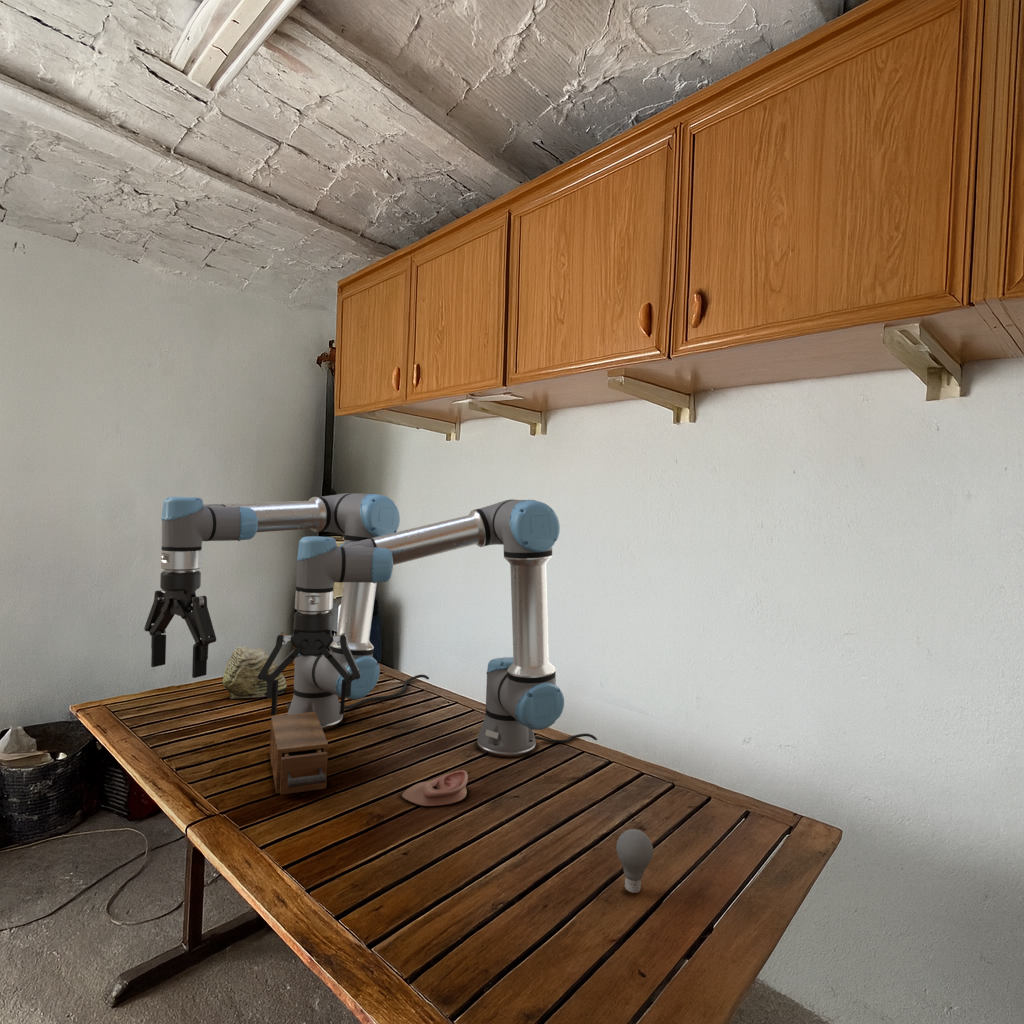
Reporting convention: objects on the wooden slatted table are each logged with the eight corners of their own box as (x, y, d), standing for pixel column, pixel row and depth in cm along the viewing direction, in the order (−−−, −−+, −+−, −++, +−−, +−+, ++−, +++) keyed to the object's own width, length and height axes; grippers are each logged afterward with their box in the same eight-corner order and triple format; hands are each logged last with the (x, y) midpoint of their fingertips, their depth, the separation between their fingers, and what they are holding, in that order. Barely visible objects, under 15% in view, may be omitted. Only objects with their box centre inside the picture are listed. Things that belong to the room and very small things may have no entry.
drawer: (329, 800, 131) (331, 763, 130) (282, 807, 127) (283, 769, 127) (313, 752, 154) (315, 721, 154) (273, 757, 150) (274, 725, 150)
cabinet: (326, 786, 139) (328, 743, 138) (276, 793, 134) (277, 749, 134) (314, 749, 158) (315, 711, 158) (269, 754, 154) (271, 715, 154)
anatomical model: (397, 783, 132) (416, 761, 144) (396, 802, 132) (415, 779, 144) (458, 792, 130) (472, 769, 141) (457, 811, 130) (471, 786, 141)
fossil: (218, 695, 195) (220, 647, 195) (278, 685, 208) (279, 640, 207) (228, 703, 189) (230, 653, 188) (289, 692, 201) (290, 645, 201)
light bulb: (610, 879, 108) (613, 822, 108) (644, 879, 109) (647, 822, 109) (619, 902, 102) (622, 840, 102) (655, 901, 103) (658, 840, 103)
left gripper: (127, 566, 135) (125, 665, 136) (203, 577, 124) (200, 685, 124) (161, 563, 142) (158, 657, 142) (236, 574, 130) (233, 676, 131)
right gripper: (246, 613, 125) (240, 720, 125) (375, 615, 131) (369, 717, 131) (253, 606, 132) (248, 707, 133) (374, 608, 138) (369, 705, 138)
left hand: (178, 671), depth 133 cm, fingers open, 13 cm apart
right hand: (308, 712), depth 132 cm, fingers open, 13 cm apart
